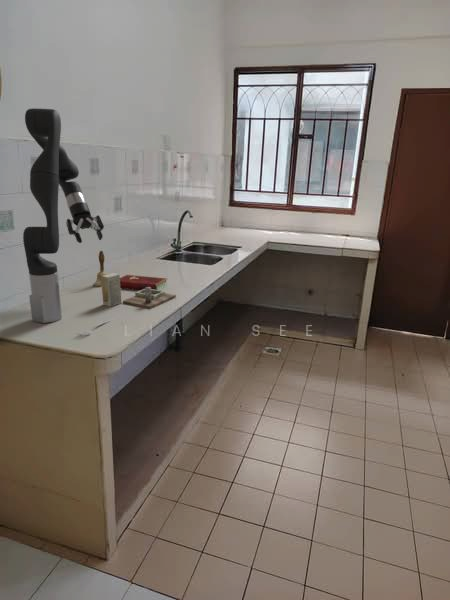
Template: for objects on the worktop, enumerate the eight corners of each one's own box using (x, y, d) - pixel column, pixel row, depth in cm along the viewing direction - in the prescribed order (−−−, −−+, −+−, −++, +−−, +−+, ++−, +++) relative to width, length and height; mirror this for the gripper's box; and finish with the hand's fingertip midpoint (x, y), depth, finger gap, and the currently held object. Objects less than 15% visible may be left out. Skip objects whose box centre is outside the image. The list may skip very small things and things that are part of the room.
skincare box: (115, 301, 176) (113, 272, 172) (122, 303, 173) (120, 274, 169) (102, 304, 171) (100, 275, 167) (108, 306, 168) (106, 277, 165)
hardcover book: (156, 293, 190) (156, 284, 188) (114, 288, 195) (114, 279, 194) (167, 286, 201) (167, 277, 199) (127, 282, 206) (127, 274, 205)
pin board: (150, 308, 167) (150, 291, 165) (122, 303, 173) (122, 286, 171) (175, 297, 183) (175, 281, 181) (149, 292, 189) (148, 277, 187)
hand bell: (101, 281, 205) (98, 248, 200) (115, 283, 202) (113, 250, 198) (90, 285, 198) (87, 251, 193) (104, 287, 195) (102, 253, 190)
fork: (122, 316, 159) (122, 312, 159) (83, 339, 137) (83, 334, 137) (114, 315, 160) (114, 311, 160) (75, 338, 138) (74, 333, 137)
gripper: (62, 203, 170) (75, 239, 167) (96, 199, 178) (109, 234, 175) (59, 212, 176) (71, 247, 173) (92, 208, 184) (104, 242, 181)
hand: (90, 240), depth 174 cm, fingers open, 8 cm apart
